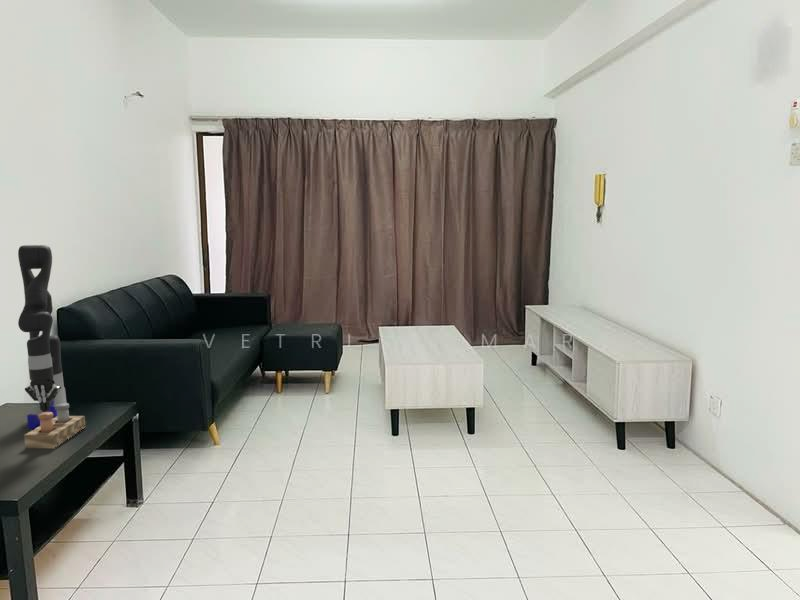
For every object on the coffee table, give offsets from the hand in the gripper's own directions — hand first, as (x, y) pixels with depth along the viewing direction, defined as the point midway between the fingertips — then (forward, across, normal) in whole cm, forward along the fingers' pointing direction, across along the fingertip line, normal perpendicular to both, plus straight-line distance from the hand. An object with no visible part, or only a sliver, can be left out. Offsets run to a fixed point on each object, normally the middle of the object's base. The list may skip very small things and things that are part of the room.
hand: (45, 411), depth 221 cm
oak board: (+12, 0, -5) cm, 13 cm away
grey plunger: (+9, 0, -10) cm, 13 cm away
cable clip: (+13, +15, -19) cm, 27 cm away
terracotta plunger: (+9, 0, 0) cm, 9 cm away
